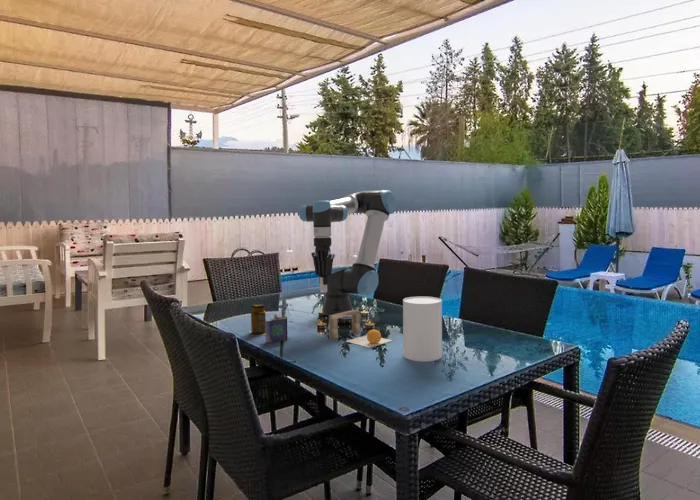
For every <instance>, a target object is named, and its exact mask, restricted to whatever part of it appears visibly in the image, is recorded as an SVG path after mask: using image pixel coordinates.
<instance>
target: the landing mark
mask: <svg viewBox="0 0 700 500" xmlns="http://www.w3.org/2000/svg"><path fill="white" fill-rule="evenodd" d="M345 342H346V343H350V344H354V345H357V346H361V347H364V348H368V349H369V348H373V347H377V346H379V345H383V344H387V343H390V342H393V340H392V339H389V338H385V337H384V338H383V337H381V340H380V341H379V342H378V343H376V344H372V343H370V342H369V341H368V339H367V335H362V336H359V337H355V338H350V339H347V340H345Z"/></svg>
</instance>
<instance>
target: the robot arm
mask: <svg viewBox="0 0 700 500" xmlns="http://www.w3.org/2000/svg"><path fill="white" fill-rule="evenodd" d="M396 208H397V201H396V197H395V195H394V193H393V192H392V191H391V190H388V189H387V190H385V189H381V190H361V191H356V192H353V193H350V194H347V195H345V196H344V197H342V198H336V199H333V200H314V201H313V202H312V204H306V205H305V204H304V205H301V206H300V207H299V209H298V216H299V219H300V221H302V222H307V223H309V222H311V223H313V225H312V226H313V227H312V228H313V246H314V247H315V249H314V250H315V251H314V252H311V257H312V260H313V265H314V272H315V275H316V276H318V277H319V278H318V279H319V282H318V283H319V288H320V289H319V291H320V293H322V294H323V293H324V301H323V306H322V309H321V314H322V315H324V316H327V317H329V315H333V314H337V313H342V312H346V311H351V310H354V308H353V305H352V303H351V302H352V301H351V299H350V295H360V296H370V295H372V294H374V292H375V291H376V290H377V288H378V286H379V281H380V280H379V273H378V272H376V271H377V268H376V267H375V264H376V263H375V262H376V258H377V255H378V250H379V246H380V241H381V238H382V233H383V230H384V226H385V222H386V221H388V220H389V218H390V215H392V214H394V213H395V212H396ZM351 214H365V216H366V217H367V218H366V223H365V226H364V227H365V228H364V231H363V235H362V239H361V243H360V246H359V251H358V255H357V258H356V261H355V262H354V263H352V266H351V268H350V267H349V266H348V265H338V266H333V264H334V259H335V256H336V255H335V253H332V252H331V247H332V237H331V236H332V223H340V222H343V221H346V220H347V218H348V216H349V215H351Z"/></svg>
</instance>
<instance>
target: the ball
mask: <svg viewBox="0 0 700 500" xmlns="http://www.w3.org/2000/svg"><path fill="white" fill-rule="evenodd" d="M381 338H382V334H381V332H380V331H379V330H377V329H370V330H369V331H368V332H367V339H368V341H369V342H370V343H372V344H376V343H378V342H379V341H380V340H381Z"/></svg>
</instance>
